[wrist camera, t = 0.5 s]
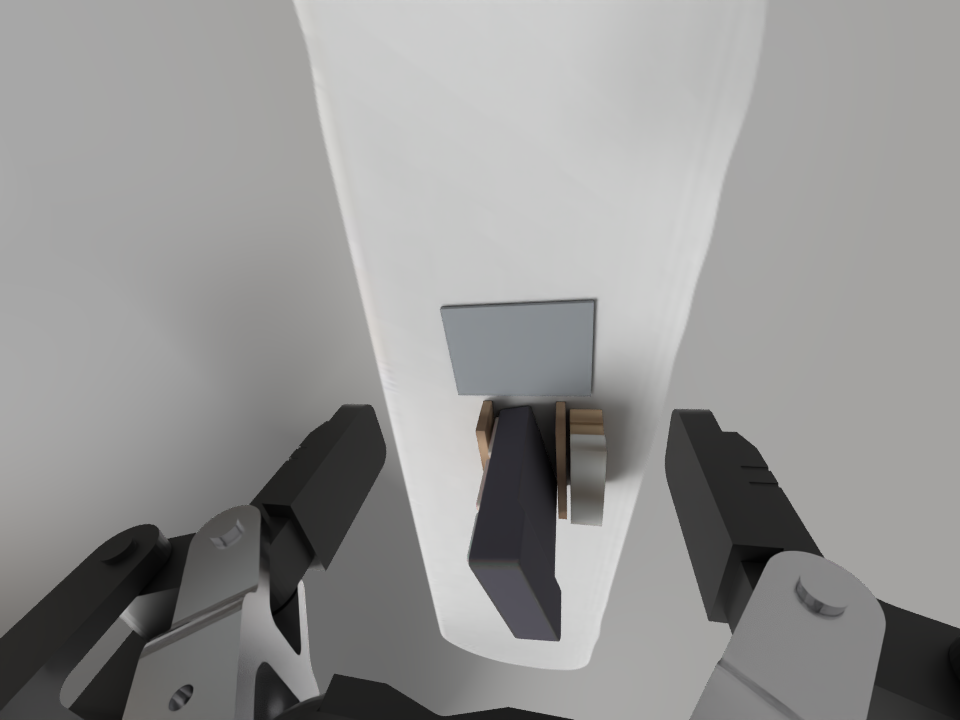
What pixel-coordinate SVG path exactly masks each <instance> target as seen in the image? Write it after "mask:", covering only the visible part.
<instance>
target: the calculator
mask: <svg viewBox="0 0 960 720" xmlns="http://www.w3.org/2000/svg"><path fill="white" fill-rule="evenodd" d="M488 455H489V458H490V459H487V460H486V463H485V467H484V472H483V476H482V481H481V485H480V490H479V494H478V498H477V503H476V507H477V510H478V511H479V512H478V513H477V514H476V518H475V522H474V527H473V532H472V536H471V541H470V545H469V550H468V554H467V562H468V564H469V566H470V568H471V570H472V571H473V573H474V574H475V576H476V578H477V579H478V581H479V582H480V584H481V585H482V587H483V588H484V590H485V592H486V593H487V595H488V596H489V598H490V599H491V601H492V602H493V604H494V606H495V607H496V609H497V610H498V612H499V613H500V615H501V616H502V618H503V619H504V621H505V623H506V624H507V626H508V627H509V629H510V630H511V632H512V633H513V635H514V637H515V638H519V639H532V640H545V641H560V638H561V590H560V587H559V585H558V583H557V581H556V578H555V542H556V508H557V479H556V476H555V473H554V470H553V467H552V465H551V462H550V459H549V456H548V454H547V451H546V448H545V445H544V443H543V440H542V437H541V434H540V431H539V429H538V426H537V423H536V420H535V418H534V415H533V412H532V409H531V407H530V406H525V407H518V408H511V409H504V410H501V411H500V414H499V417H496V419H495V423H494V427H493V432H492V436H491V441H490V445H489V449H488Z"/></svg>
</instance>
